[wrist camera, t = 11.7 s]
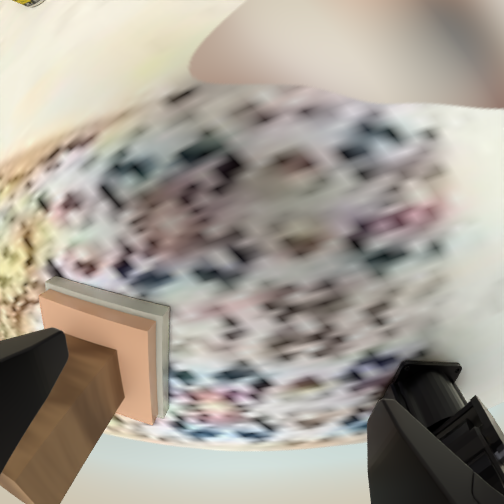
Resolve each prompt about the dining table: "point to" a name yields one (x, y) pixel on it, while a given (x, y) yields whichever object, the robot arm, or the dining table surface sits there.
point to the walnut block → (66, 425)
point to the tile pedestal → (117, 339)
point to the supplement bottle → (29, 2)
